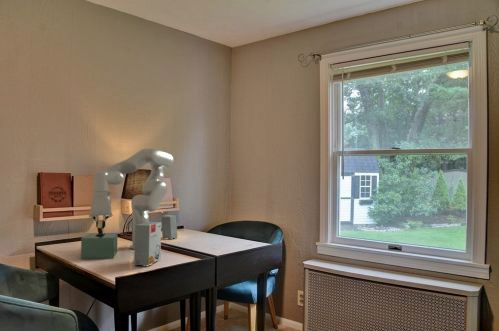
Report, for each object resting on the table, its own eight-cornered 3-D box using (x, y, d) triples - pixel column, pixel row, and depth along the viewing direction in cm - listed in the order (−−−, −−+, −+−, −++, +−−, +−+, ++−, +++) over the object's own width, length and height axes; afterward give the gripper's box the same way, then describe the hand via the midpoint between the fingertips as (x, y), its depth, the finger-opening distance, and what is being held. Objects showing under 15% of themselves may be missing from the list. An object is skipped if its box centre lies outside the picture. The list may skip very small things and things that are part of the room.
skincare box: (177, 238, 270) (177, 215, 270) (170, 240, 264) (170, 216, 264) (168, 237, 275) (168, 214, 275) (160, 238, 269) (161, 215, 269)
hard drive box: (148, 267, 190) (149, 225, 191) (133, 266, 192) (134, 225, 192) (161, 260, 206) (161, 221, 206) (147, 259, 207) (147, 221, 207)
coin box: (117, 252, 223) (117, 232, 223) (113, 258, 208) (113, 237, 208) (87, 253, 220) (87, 233, 220) (81, 259, 204) (81, 238, 205)
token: (102, 233, 214) (103, 226, 217) (101, 227, 210) (102, 219, 213) (98, 233, 214) (99, 226, 217) (97, 227, 209) (98, 219, 213)
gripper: (117, 193, 219) (116, 227, 219) (86, 193, 216) (86, 227, 216) (115, 194, 212) (115, 229, 212) (84, 194, 209) (83, 229, 209)
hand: (100, 228), depth 214 cm, fingers closed on token, 1 cm apart
